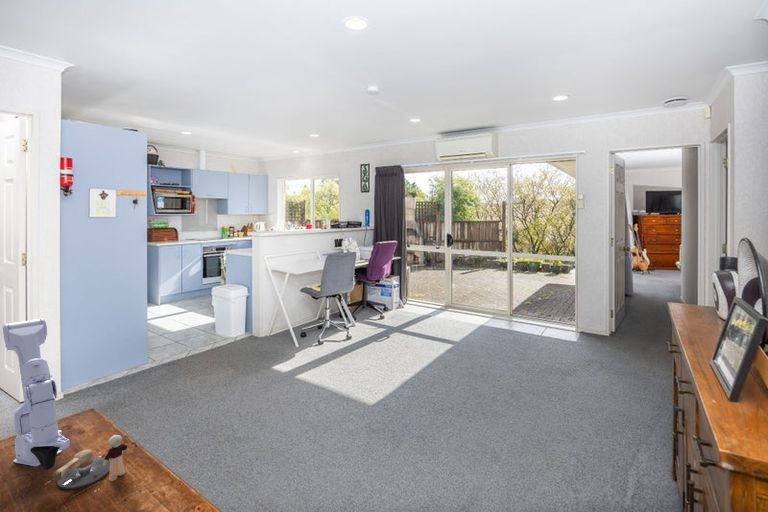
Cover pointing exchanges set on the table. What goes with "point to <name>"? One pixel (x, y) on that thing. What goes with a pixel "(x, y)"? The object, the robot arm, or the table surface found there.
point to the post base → (85, 475)
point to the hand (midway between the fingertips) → (48, 467)
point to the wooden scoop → (74, 464)
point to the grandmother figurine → (115, 457)
